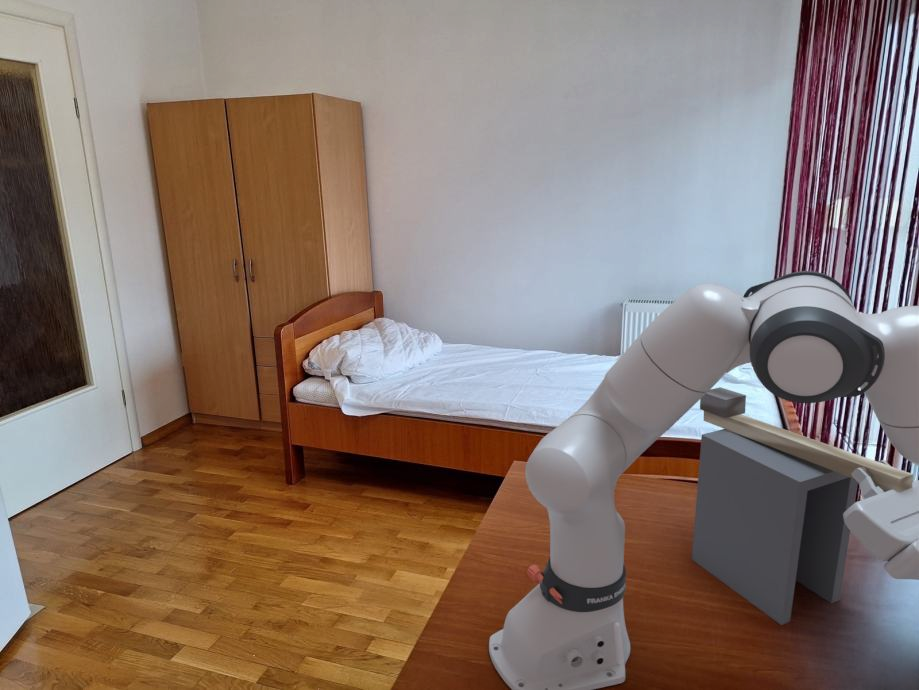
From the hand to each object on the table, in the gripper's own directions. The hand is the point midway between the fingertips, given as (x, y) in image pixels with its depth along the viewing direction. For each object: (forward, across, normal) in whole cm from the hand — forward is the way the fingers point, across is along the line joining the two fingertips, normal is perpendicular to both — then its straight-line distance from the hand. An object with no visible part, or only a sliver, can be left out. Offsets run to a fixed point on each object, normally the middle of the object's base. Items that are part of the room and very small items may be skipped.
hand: (866, 466), depth 92 cm
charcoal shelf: (-1, 0, +33) cm, 33 cm away
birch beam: (+9, 0, +8) cm, 13 cm away
